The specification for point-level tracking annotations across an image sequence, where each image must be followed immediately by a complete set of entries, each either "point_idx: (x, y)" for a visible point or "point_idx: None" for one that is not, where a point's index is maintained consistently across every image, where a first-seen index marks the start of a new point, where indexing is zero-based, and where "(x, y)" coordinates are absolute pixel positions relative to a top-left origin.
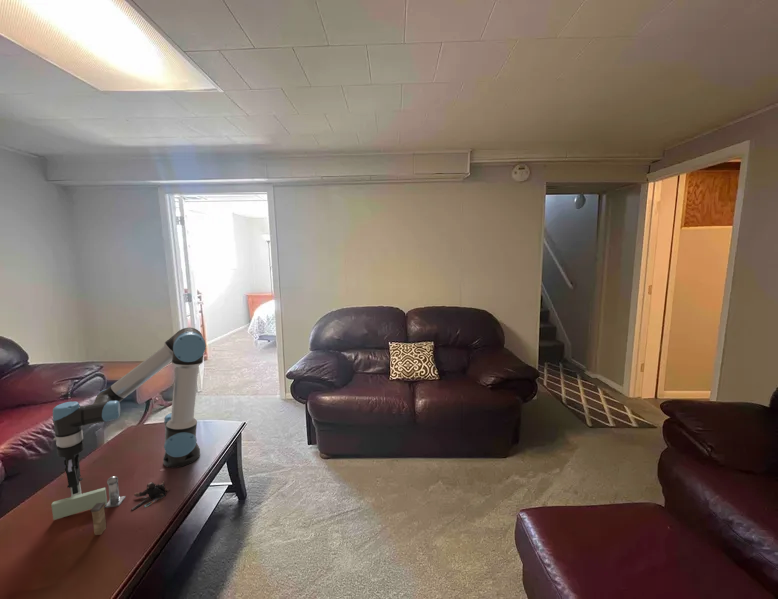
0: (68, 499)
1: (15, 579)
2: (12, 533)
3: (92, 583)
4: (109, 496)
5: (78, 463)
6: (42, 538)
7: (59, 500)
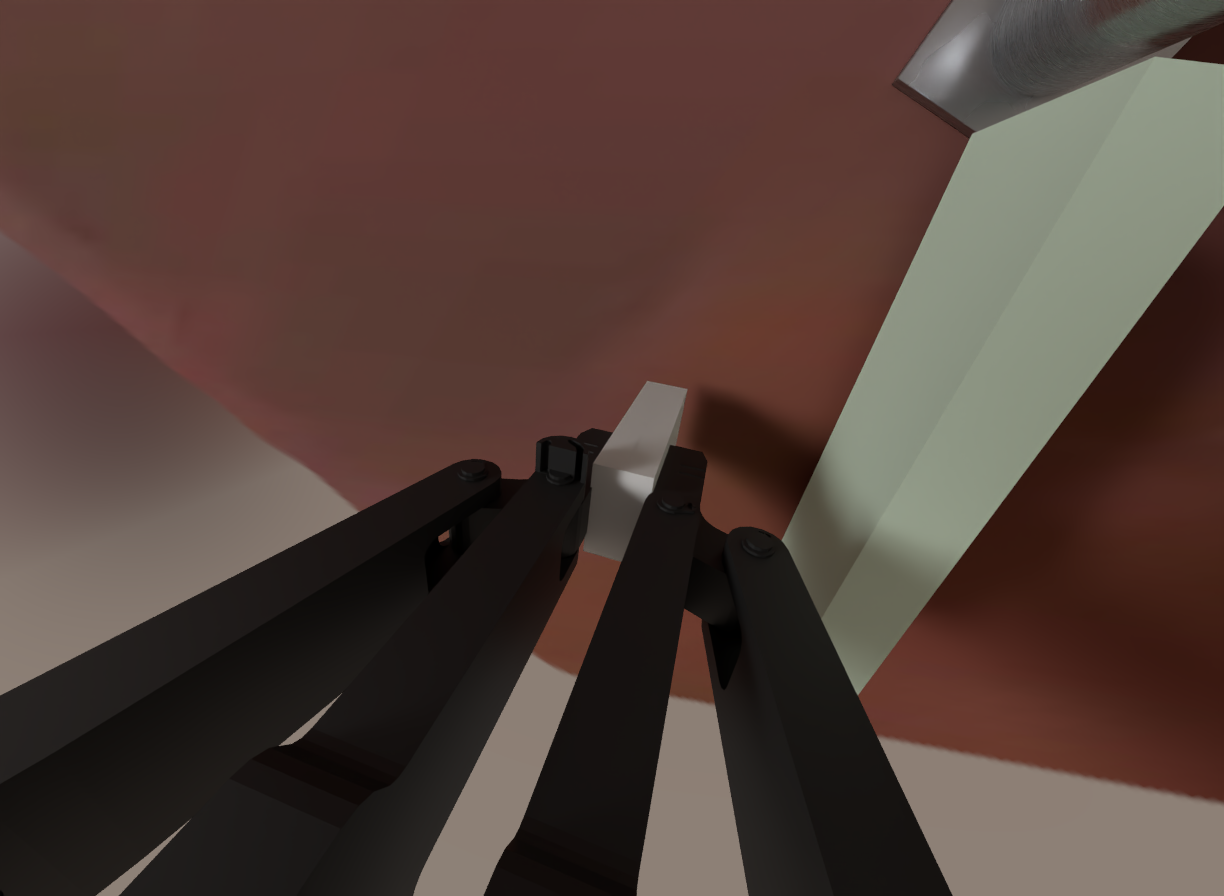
0: (902, 593)
1: None
2: None
3: None
4: (1153, 52)
5: (325, 875)
6: (980, 630)
7: None
